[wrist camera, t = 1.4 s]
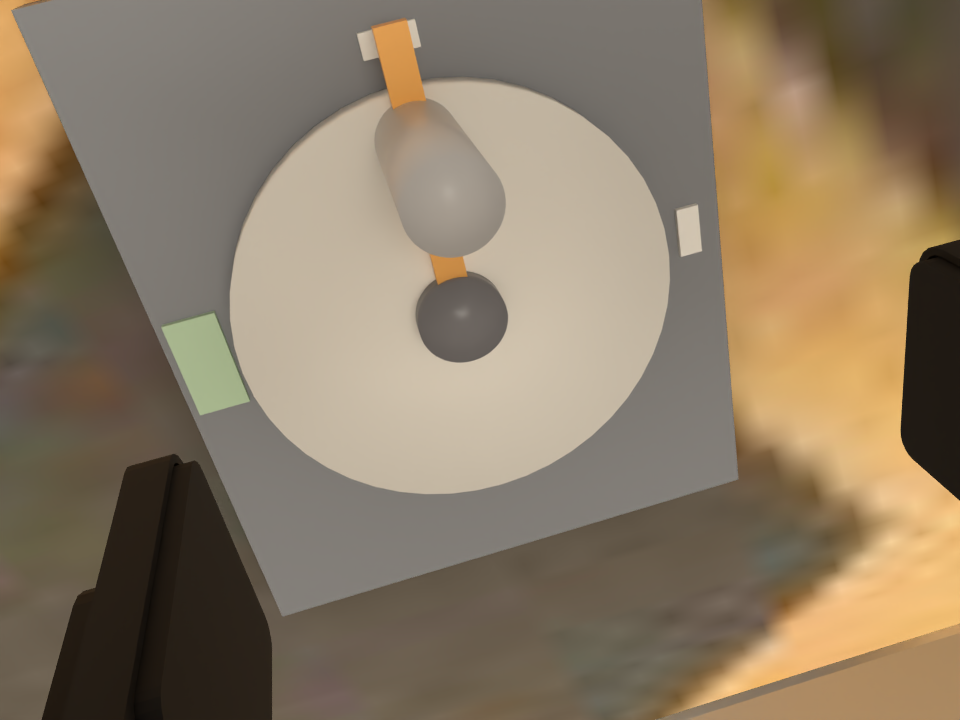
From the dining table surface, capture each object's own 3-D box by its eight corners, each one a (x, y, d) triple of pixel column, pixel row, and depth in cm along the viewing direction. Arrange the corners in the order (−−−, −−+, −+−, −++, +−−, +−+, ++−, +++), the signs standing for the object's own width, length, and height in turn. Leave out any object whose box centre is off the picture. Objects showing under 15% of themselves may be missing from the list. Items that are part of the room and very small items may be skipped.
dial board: (670, -154, 27) (692, -157, 26) (723, 459, 39) (740, 482, 38) (24, 4, 26) (9, 11, 24) (282, 591, 38) (282, 619, 36)
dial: (676, 413, 35) (768, 535, 29) (309, 521, 34) (316, 674, 27) (623, -44, 27) (736, -22, 20) (134, 80, 26) (83, 146, 19)
